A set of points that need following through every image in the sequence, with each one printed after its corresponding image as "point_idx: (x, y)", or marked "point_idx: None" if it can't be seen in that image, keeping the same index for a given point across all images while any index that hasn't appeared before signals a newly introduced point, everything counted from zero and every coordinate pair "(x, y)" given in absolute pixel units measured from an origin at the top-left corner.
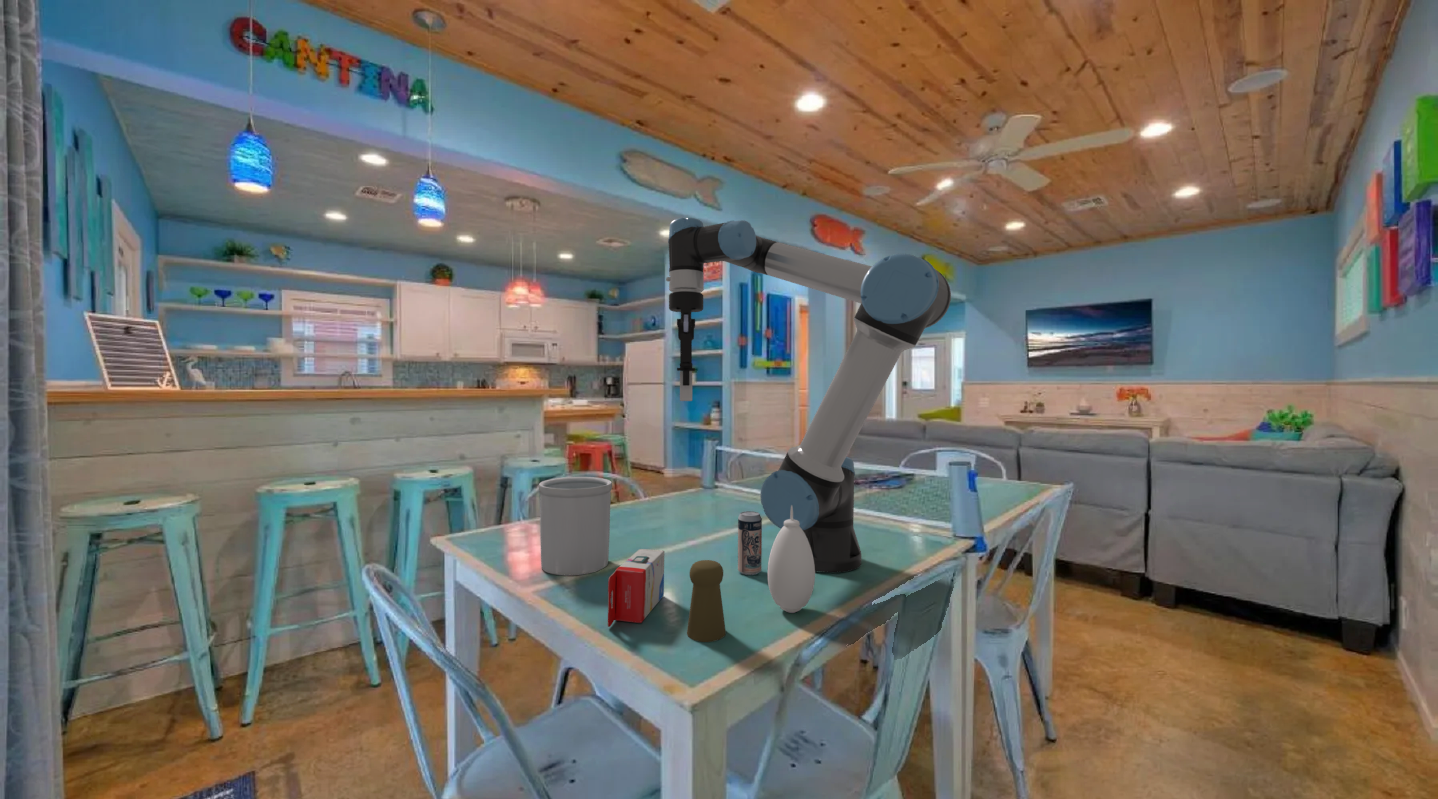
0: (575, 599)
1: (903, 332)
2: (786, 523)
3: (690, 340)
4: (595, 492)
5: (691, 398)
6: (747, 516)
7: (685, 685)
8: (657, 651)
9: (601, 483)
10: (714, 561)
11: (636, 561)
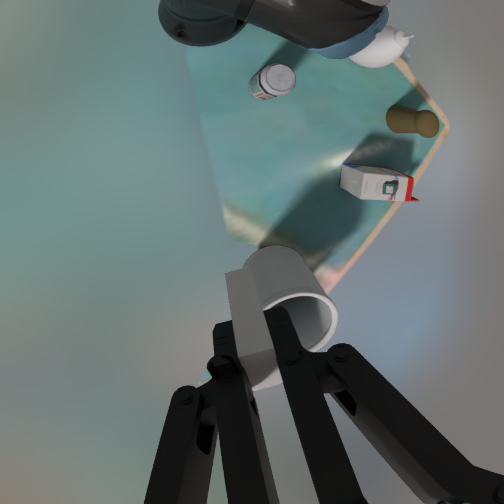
0: (352, 234)
1: None
2: (407, 44)
3: (443, 441)
4: (323, 293)
5: (251, 273)
6: (294, 81)
7: (443, 128)
8: (419, 149)
9: None
10: (429, 118)
11: (394, 190)
